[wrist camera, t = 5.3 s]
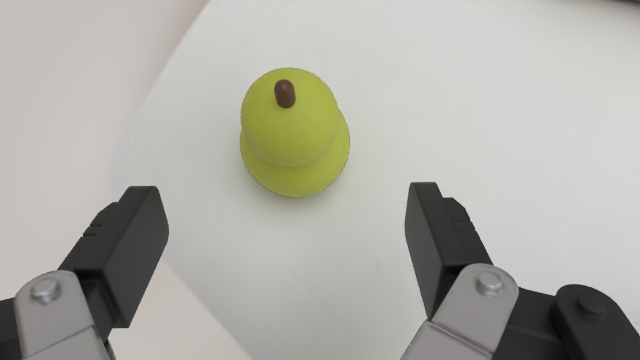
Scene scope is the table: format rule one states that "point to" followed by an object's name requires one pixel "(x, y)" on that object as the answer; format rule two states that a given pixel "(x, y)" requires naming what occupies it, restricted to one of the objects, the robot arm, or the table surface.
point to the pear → (293, 133)
